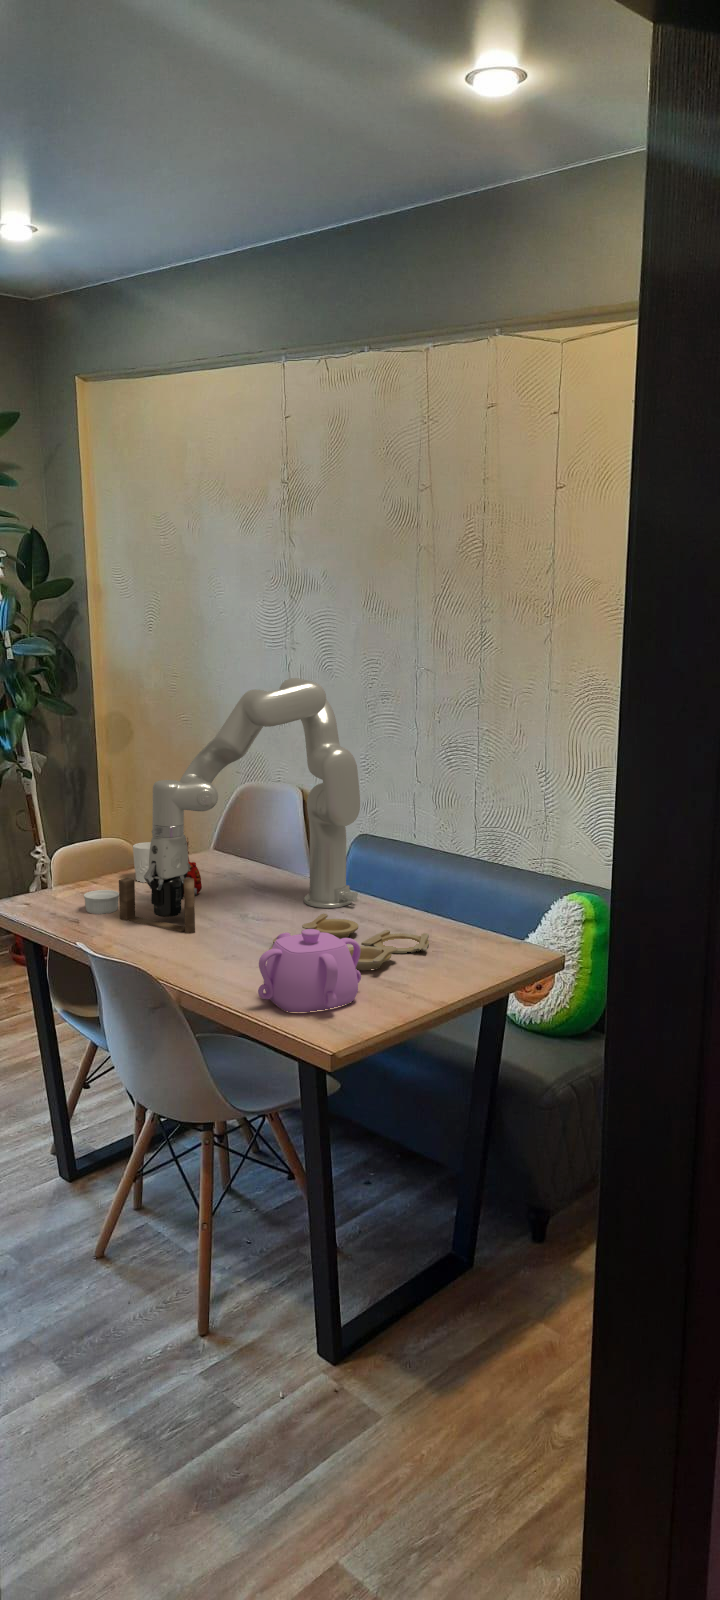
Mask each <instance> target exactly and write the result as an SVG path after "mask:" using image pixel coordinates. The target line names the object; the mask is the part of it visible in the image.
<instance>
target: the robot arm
mask: <svg viewBox="0 0 720 1600" xmlns="http://www.w3.org/2000/svg"><path fill="white" fill-rule="evenodd" d="M299 720H300V722H301V723H302V727H303V732H304V733H303V734H304V740H305V741H304V742H305V751H306V763H307V767H308V770H309V773H310V774H311V775H312V776H314V777H316V778H317V779H319V780H322V782H321V783H318V784H316V785H314V786H313V788H312V789H311V790H310V792H309V793H308V795H307V800H306V809H307V817H308V825H309V893H308V894H306V895H305V896H304V897H303V902H304V904H306V905H307V906H310V907H315V908H323V909H324V908H325V909H333V908H334V909H335V908H341V907H346V906H348V905H350V904H351V903H352V902H356V901H357V899H358V891H351V890H350V885H348V884H347V828H346V827H347V826H350V825H352V824H353V823H354V822H356V820H357V818H358V817H359V814H360V811H361V794H360V782H359V781H360V780H359V772H358V765H357V761H356V758H355V757H354V755H353V753H352V752H351V751H350V750H348V749H347V748H346V747H343V746H341V744H340V737H339V732H338V724H337V719H336V715H335V712H334V710H333V708H332V705H331V704H330V702H329V701H328V699H327V694H326V691H325V689H324V688H323V686H321V685H320V684H319V683H317V682H315V681H313V680H307V679H302V678H297V677H292V678H288V679H286V680H284V681H283V682H282V683H281V684H280V687H279V689H276V690H269V691H266V690H263V689H262V690H261V689H250V690H248V691H246V692H245V693H244V694H242V696H241V697H240V699H239V700H238V702H237V703H236V704H235V707H234V708H233V709H232V711H231V712H230V714H229V716H227V718H226V720H225V722H224V723H223V724H222V726H221V727H220V729H219V730H218V732H217V734H216V735H215V736H214V738H212V740H211V741H209V742H208V743H207V744H206V745H205V746H204V747H203V748H202V750H201V751H199V753H197V754H196V756H195V757H194V758H193V759H192V761H191V762H190V763H189V765H188V767H187V768H186V770H185V771H184V773H183V775H182V776H181V777H180V779H179V780H176V779H161V780H158V781H157V780H156V781H155V782H154V783H153V786H152V830H151V834H152V837H151V840H150V842H151V844H150V852H149V869H148V870H147V872H146V873H145V875H144V879H145V880H146V882H147V885H148V886H149V889H150V890H151V896H150V897H151V902H150V903H151V904H152V905H158V906H162V905H163V890H161V888H162V885H163V881H164V880H167V879H171V878H174V877H179V878H180V879H181V901H182V900H184V895H183V884H184V879H185V878H186V876H187V872H188V871H189V869H190V867H191V865H190V864H189V863H188V856H189V854H188V851H189V847H188V848H187V837H186V834H184V833H185V831H184V830H185V829H184V827H185V826H184V825H185V822H184V821H185V811H192V812H206V811H210V810H212V809H213V808H214V807H215V806H216V805H217V803H218V801H219V793H218V789H217V788H216V786H214V785H213V784H212V783H213V781H214V780H215V779H216V777H217V776H218V775H219V773H220V772H221V771H222V770H223V769H225V767H227V766H229V765H230V764H232V763H234V762H236V761H239V760H240V759H241V758H243V757H244V756H245V755H246V754H247V752H248V751H249V749H250V748H251V746H252V745H253V744H254V741H256V738H257V737H258V736H259V734H260V732H261V731H262V730H263V728H264V727H266V728H267V727H269V728H270V727H276V726H281V725H285V724H289V723H292V722H296V721H299ZM158 876H159V877H158ZM156 880H159V881H158V884H157V883H156Z"/></svg>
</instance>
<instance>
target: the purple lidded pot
mask: <svg viewBox="0 0 720 1600" xmlns="http://www.w3.org/2000/svg"><path fill="white" fill-rule="evenodd" d="M300 933H301V934H300ZM300 933H299V934H293V935H291V933H290V932H283V933H280V934H278V935H277V936H276V937H275V938H276V939H277V940H276V941H275V943H274V944H272V946H273V947H272V946H271V947H272V949H270V950H269V949H267V950H266V951H264V952H263V953H262V954H261V955H260V957H259V961H258V967H259V972H260V975H261V978H262V979H263V984H261V985H260V986H259V987H258V991H257V993H258V996H259V998H261V999H262V1000H270V1001H271V1002H272V1004H273V1005H275V1004H276V1005H277V1006H276V1005H275V1006H276V1007H278V1008H279V1007H280V1008H281V1009H280V1010H282V1009H283V1010H282V1011H284V1010H285V1011H288V1012H310V1011H317V1010H325V1009H330V1008H334V1007H338V1006H342V1005H345V1004H348V1003H350V1002H352V1001H354V1000H355V998H356V996H357V994H358V992H359V983H360V982H361V981H362V980H361V979H362V973H361V972H360V970H356V969H355V968H356V966H357V963H358V961H359V958H360V953H361V949H360V946H361V945H360V944H359V942H358V941H356V940H355V939H353V938H351V937H350V938H349V937H347V938H342V939H339V938H337V937H336V936H334V935H332V934H329V933H324V932H320V931H319V930H316V929H303V930H301V932H300ZM348 945H352V947H354V951H353V955H352V957H351V954H350V952H349V949H348V948H349V947H348ZM264 991H265V992H264ZM352 1003H353V1002H352ZM285 1011H284V1012H285ZM288 1012H287V1013H288Z"/></svg>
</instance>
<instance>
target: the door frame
mask: <svg viewBox="0 0 720 1600" xmlns="http://www.w3.org/2000/svg"><path fill="white" fill-rule="evenodd" d="M135 888H136V887H135V878H132V877H125V878H121V879H119V880H118V893H119V898H118V905H119V919H120V920H122V921H126V922H127V921H129V922H133V923H137V924H142V925H146V926H149V927H150V926H151V927H155V928H160V929H163V930H164V929H165V930H168V931H174V932H179V933H183V932H184V933H185V934H194V933H196V915H195V914H196V910H195V909H196V907H195V906H196V905H195V902H196V901H195V900H196V899H195V896H194V879H193V878H186V879H184V895H183V900H184V901H183V902H184V904H183V905H184V925H180V924H176V923H175V924H174V923H170V922H165V921H161V920H157V919H152V918H147V917H142V916H136V891H135V890H136V889H135Z"/></svg>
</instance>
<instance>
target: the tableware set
mask: <svg viewBox="0 0 720 1600" xmlns="http://www.w3.org/2000/svg"><path fill="white" fill-rule="evenodd" d="M328 917H329V915H328V914H327V913H321V914H320V915H317V917H316V918H315V919H314V920H312V921H311V922H306V923H303V924H302V925H301V927H302V929H303V930H306V929H316V930H319V931H320V932H324V933H329V934H332V935H334V936H336V937H337V938H339V939H342V938H349V937H350V935H351V934H352V933H354V932H356V931H358V929H359V924H358V922H355V921H353V920H350V919H345V918H328ZM348 936H349V937H348ZM276 938H277V937H275V938H274V939H273V940H272V945H271V946H270V947H269V948H268V950H270V949H272V947H273V945H274V943H275V941H276V940H277V939H276ZM429 938H430V934H429V933H428V932H427V933H426V932H423V933H421V934H420V935H419V934H413V933H402V932H400V933H399V932H398V933H391V930H389V929H386V930H385V929H384V930H382V931H381V932H378V933H377V934H375V935H373V936H371V937H369V938H367V939H365V940H363V941H362V942H361V944H360V945H359V946H360V949H361V953H360V958H359V961H358V963H357V966H356V968H355V969H358V971H360V970H371V969H376V968H379V967H380V966H382V964H383V963H384V962H387V961H389V960H390V959H392V954H408V953H407V952H411V953H416V951H417V952H420V950H421V951H423V952H424V951H427V950H428V947H429V945H430V941H429ZM394 939H412V940H415V941H417V942H419V944H416V945H415V946H414V947H409V948H396V947H393V946H385V945H383V942H385V941H388V940H394ZM348 949H349V952H350V954H351V957H352V955H353V951H354V947H353V946H352V947H348ZM380 968H381V967H380ZM380 968H379V969H380ZM376 970H377V969H376ZM371 971H372V970H371Z"/></svg>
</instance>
